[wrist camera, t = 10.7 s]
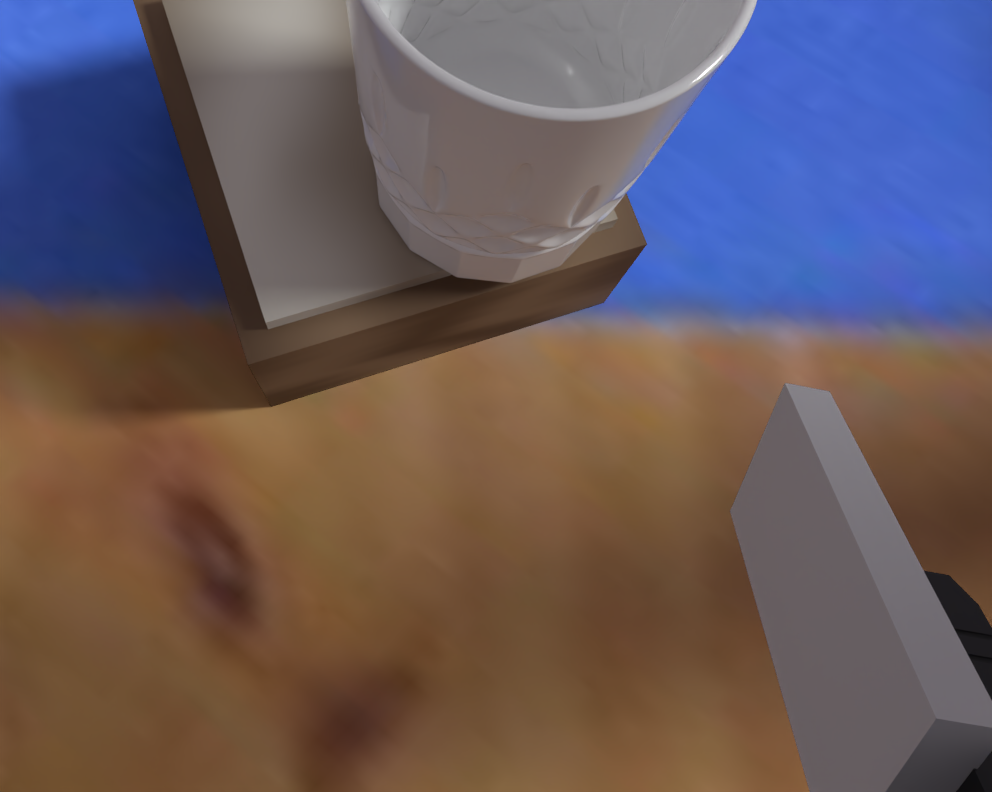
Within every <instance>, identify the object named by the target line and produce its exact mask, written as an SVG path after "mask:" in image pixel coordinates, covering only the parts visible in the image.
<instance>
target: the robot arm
mask: <svg viewBox="0 0 992 792" xmlns="http://www.w3.org/2000/svg"><path fill="white" fill-rule="evenodd" d="M730 513H731V516H732V520H733V523H734V527H735V530H736V534H737V537H738V541H739V544H740V548H741V551H742V555H743V559H744V562H745V566H746V569H747V573H748V576H749V580H750V583H751V587H752V590H753V594H754V597H755V601H756V604H757V608H758V611H759V615H760V618H761V622H762V625H763V629H764V632H765V636H766V639H767V643H768V646H769V650H770V654H771V657H772V661H773V664H774V668H775V671H776V675H777V678H778V682H779V685H780V689H781V692H782V696H783V699H784V703H785V706H786V710H787V713H788V717H789V720H790V724H791V727H792V731H793V734H794V738H795V741H796V745H797V749H798V752H799V756H800V759H801V763H802V766H803V770H804V773H805V777H806V780H807V784H808V787H809V791H810V792H992V628H991V626H990V624H989V622H988V621H987V619H986V617H985V615H984V614H983V612H982V610H981V608H980V607H979V605H978V604H977V603H976V602H975V601H974V600H973V599H972V598H971V597H970V596H969V595H968V594H967V593H966V592H965V591H964V590H963V589H962V588H961V587H960V586H959V585H958V584H957V583H956V582H955V581H954V580H953V579H952V578H951V577H950V576H949V575H944V574H939V573H933V572H928V571H924V570H923V569H922V567H921V565H920V563H919V561H918V559H917V557H916V555H915V553H914V551H913V550H912V548H911V546H910V544H909V542H908V540H907V538H906V536H905V534H904V532H903V530H902V529H901V527H900V525H899V523H898V521H897V519H896V517H895V515H894V513H893V511H892V509H891V508H890V506H889V504H888V502H887V500H886V498H885V496H884V494H883V492H882V490H881V489H880V487H879V485H878V483H877V481H876V479H875V477H874V475H873V473H872V471H871V469H870V468H869V466H868V464H867V462H866V460H865V458H864V456H863V454H862V452H861V450H860V448H859V447H858V445H857V443H856V441H855V439H854V437H853V435H852V433H851V431H850V429H849V428H848V426H847V424H846V422H845V420H844V418H843V416H842V414H841V412H840V410H839V408H838V407H837V405H836V403H835V401H834V399H833V397H832V395H831V393H830V391H825V390H820V389H814V388H809V387H804V386H799V385H794V384H788V383H785V384H784V386H783V389H782V391H781V393H780V396H779V398H778V400H777V403H776V405H775V407H774V410H773V412H772V414H771V417H770V419H769V421H768V424H767V426H766V428H765V431H764V433H763V435H762V438H761V440H760V442H759V445H758V447H757V449H756V452H755V454H754V456H753V459H752V461H751V463H750V466H749V468H748V470H747V473H746V475H745V477H744V480H743V482H742V484H741V487H740V489H739V491H738V494H737V496H736V498H735V501H734V503H733V505H732V508H731V510H730Z"/></svg>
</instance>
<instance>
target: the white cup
mask: <svg viewBox="0 0 992 792" xmlns="http://www.w3.org/2000/svg"><path fill="white" fill-rule="evenodd" d="M756 3H757V0H346V7H347V15H348V23H349V31H350V39H351V46H352V52H353V59H354V67H355V75H356V83H357V92H358V101H359V107H360V112H361V116H362V121H363V126H364V134H365V140H366V143H367V146H368V148H369V150H370V153H371V155H372V158H373V163H374V170H375V178H376V185H377V192H378V199H379V205H380V208H381V209H382V211H383V212H384V213H385V215H386V216H387V218H388V219H389V221H390V222H391V224H392V225H393V226H394V228H395V229H396V231H397V232H398V234H399V235H400V237H401V238H402V239H403V241H404V242H405V244H406V245H407V247H408V248H409V249H410V250H411V251H412V252H414V253H416V254H417V255H419V256H421V257H423V258H424V259H426V260H428V261H429V262H431V263H433V264H435V265H436V266H438V267H440V268H441V269H443V270H445V271H447V272H448V273H450V274H452V275H453V276H455V277H458V278H466V279H476V280H485V281H494V282H503V283H513V282H516V281H519V280H521V279H524V278H527V277H530V276H533V275H536V274H539V273H542V272H545V271H548V270H551V269H554V268H557V267H559V266H561V265H562V264H563V263H564V262H565V261H566V260H567V259H568V258H569V257H570V256H571V255H572V254H573V253H574V252H575V251H576V250H577V249H578V248H579V246H580V245H581V244H582V243H583V242H584V241H585V240H586V239H587V238H588V237H589V236H590V235H591V234H592V233H593V232H594V231H595V230H596V229H597V227H598V226H599V224H600V223H601V221H602V220H603V219H605V218H606V217H607V216H608V215H609V214H610V213H611V212H612V210H613V209H614V208H615V207H616V206H617V204H618V203H619V202H620V201H621V199H622V198H623V197H624V195H625V194H626V193H627V191H628V190H629V189H630V188H631V186H632V185H633V184H634V182H635V181H636V180H637V179H638V177H639V176H640V175H641V173H642V172H643V171H644V169H645V168H646V167H647V166H648V165H649V164H650V163H651V161H652V160H653V159H654V157H655V156H656V155H657V153H658V152H659V151H660V149H661V148H662V146H663V145H664V144H665V142H666V141H667V139H668V138H669V137H670V135H671V134H672V132H673V131H674V130H675V128H676V127H677V125H678V124H679V123H680V121H681V120H682V118H683V117H684V116H685V114H686V113H687V111H688V110H689V108H690V107H691V106H692V104H693V103H694V101H695V100H696V99H697V97H698V96H699V95H700V93H701V92H702V90H703V89H704V88H705V86H706V85H707V84H708V82H709V81H710V79H711V78H712V77H713V75H714V74H715V73H716V71H717V70H718V68H719V67H720V66H721V64H722V63H723V62H724V60H725V59H726V58H727V56H728V55H729V53H730V52H731V51H732V49H733V48H734V47H735V45H736V44H737V42H738V41H739V39H740V38H741V36H742V34H743V32H744V31H745V29H746V27H747V25H748V23H749V21H750V19H751V16H752V14H753V11H754V8H755V6H756Z"/></svg>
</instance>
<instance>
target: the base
mask: <svg viewBox="0 0 992 792" xmlns="http://www.w3.org/2000/svg"><path fill="white" fill-rule="evenodd" d="M133 1H134V4H135V8H136V11H137V14H138V17H139V20H140V24H141V27H142V30H143V33H144V36H145V39H146V43H147V46H148V49H149V52H150V55H151V58H152V62H153V65H154V68H155V71H156V74H157V78H158V81H159V84H160V87H161V90H162V93H163V97H164V100H165V103H166V106H167V109H168V112H169V116H170V119H171V122H172V125H173V128H174V132H175V135H176V138H177V141H178V144H179V147H180V151H181V154H182V157H183V160H184V163H185V166H186V170H187V173H188V176H189V179H190V182H191V186H192V189H193V192H194V195H195V198H196V201H197V205H198V208H199V211H200V214H201V217H202V220H203V224H204V227H205V230H206V233H207V236H208V239H209V243H210V246H211V249H212V252H213V255H214V259H215V262H216V265H217V268H218V271H219V274H220V278H221V281H222V284H223V287H224V290H225V293H226V297H227V300H228V303H229V306H230V309H231V313H232V316H233V319H234V322H235V325H236V328H237V332H238V335H239V338H240V341H241V344H242V347H243V351H244V354H245V357H246V360H247V363H248V366H249V368H250V369H251V371H252V373H253V375H254V376H255V378H256V380H257V382H258V384H259V385H260V387H261V389H262V391H263V393H264V394H265V396H266V398H267V400H268V401H269V403H270V405H271V407H272V406H275V405H278V404H281V403H285V402H288V401H291V400H294V399H297V398H301V397H304V396H307V395H310V394H313V393H317V392H320V391H323V390H326V389H329V388H332V387H336V386H339V385H342V384H345V383H348V382H352V381H355V380H358V379H361V378H364V377H368V376H371V375H374V374H377V373H380V372H384V371H387V370H390V369H393V368H396V367H400V366H403V365H406V364H409V363H412V362H416V361H419V360H422V359H425V358H428V357H432V356H435V355H438V354H441V353H444V352H448V351H451V350H454V349H457V348H460V347H463V346H467V345H470V344H473V343H476V342H479V341H483V340H486V339H489V338H492V337H495V336H499V335H502V334H505V333H508V332H511V331H515V330H518V329H521V328H524V327H527V326H531V325H534V324H537V323H540V322H543V321H547V320H550V319H553V318H556V317H559V316H563V315H566V314H569V313H572V312H575V311H579V310H582V309H585V308H588V307H591V306H594V305H598V304H601V303H604V301H605V300H606V299H607V297H608V296H609V295H610V293H611V292H612V291H613V289H614V288H615V287H616V285H617V284H618V283H619V281H620V280H621V278H622V277H623V276H624V274H625V273H626V272H627V270H628V269H629V268H630V266H631V265H632V264H633V262H634V261H635V260H636V258H637V257H638V256H639V254H640V253H641V251H642V250H643V249H644V247H645V246H646V245H647V243H646V241H645V238H644V236H643V233H642V231H641V228H640V226H639V223H638V221H637V218H636V216H635V213H634V211H633V209H632V206H631V204H630V201H629V199H628V196H627V194H625V195H624V197H623V198H622V199H621V201H620V202H619V203H618V204H617V206H616V207H615V208H614V209H613V210H612V212H611V213H610V214H609V215H608V216H607V217H606V218H605V219H603V220H602V221H601V223H600V224H599V226H598V227H597V229H596V230H595V231H594V232H593V233H592V234H591V235H590V236H589V237H588V238H587V239H586V240H585V241H584V242H583V243H582V244H581V245H580V246H579V248H578V249H577V250H576V251H575V252H574V253H573V254H572V255H571V256H570V257H569V258H568V259H567V260H566V261H565V262H564V263H563V264H562V265H561V266H559V267H557V268H554V269H551V270H548V271H545V272H542V273H539V274H536V275H533V276H530V277H527V278H524V279H521V280H519V281H516V282H513V283H503V282H494V281H485V280H476V279H466V278H458V277H455V276H453V275H452V274H450V273H448V272H447V271H445V270H443V269H441V268H440V267H438V266H436V265H435V264H433V263H431V262H429V261H428V260H426V259H424V258H423V257H421V256H419V255H417V254H416V253H414V252H412V251H411V250H410V249H409V248H408V247H407V245H406V244H405V242H404V241H403V239H402V238H401V237H400V235H399V234H398V232H397V231H396V229H395V228H394V226H393V225H392V224H391V222H390V221H389V219H388V218H387V216H386V215H385V213H384V212H383V211H382V209H381V208H380V205H379V199H378V192H377V185H376V178H375V170H374V163H373V158H372V155H371V153H370V150H369V148H368V146H367V143H366V140H365V134H364V126H363V121H362V116H361V112H360V107H359V101H358V92H357V83H356V75H355V67H354V59H353V52H352V46H351V39H350V31H349V23H348V15H347V7H346V0H133Z"/></svg>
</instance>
